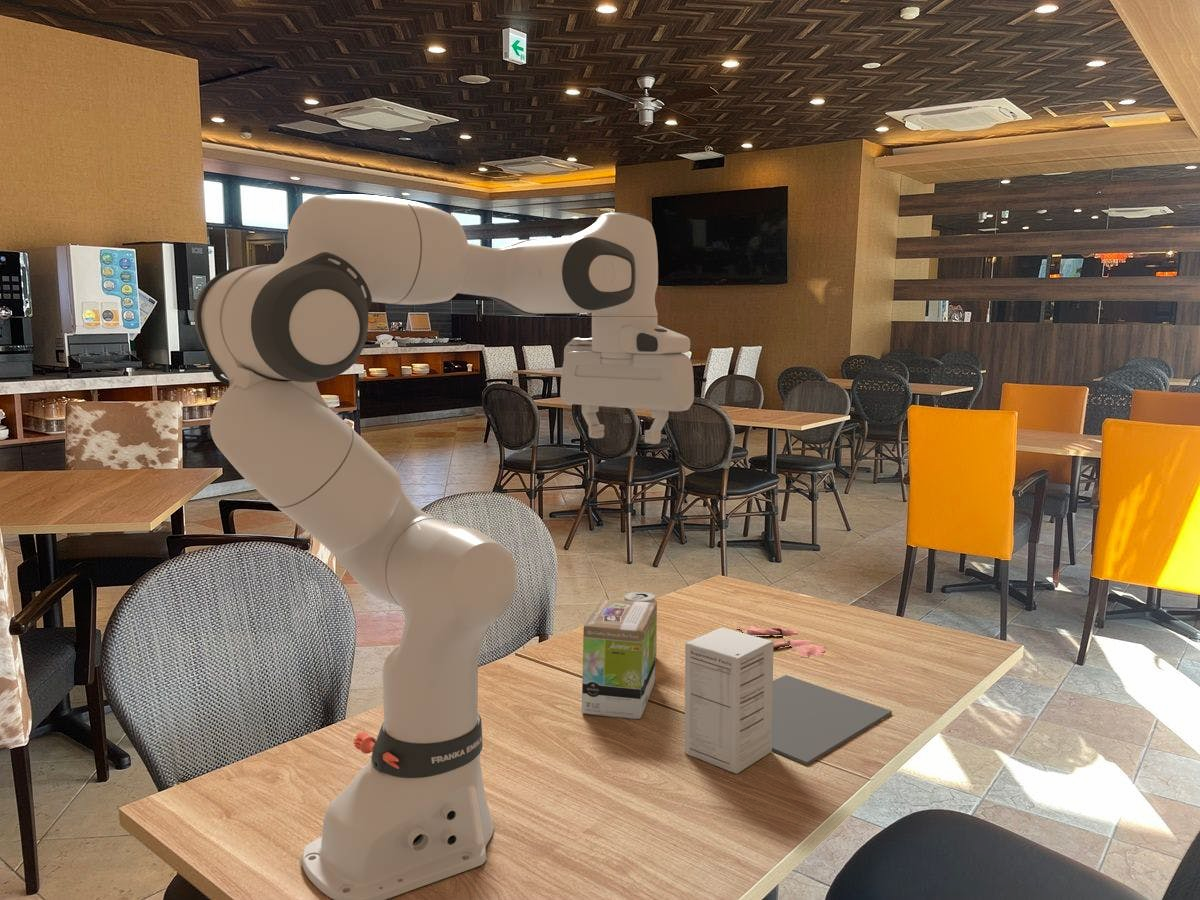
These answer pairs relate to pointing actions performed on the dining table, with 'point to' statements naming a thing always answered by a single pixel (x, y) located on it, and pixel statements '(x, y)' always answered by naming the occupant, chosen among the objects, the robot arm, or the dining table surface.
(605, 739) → the dining table surface
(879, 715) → the mat
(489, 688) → the dining table surface
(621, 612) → the tea box
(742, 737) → the supplement box
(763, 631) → the cloth
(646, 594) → the beverage can
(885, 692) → the dining table surface
